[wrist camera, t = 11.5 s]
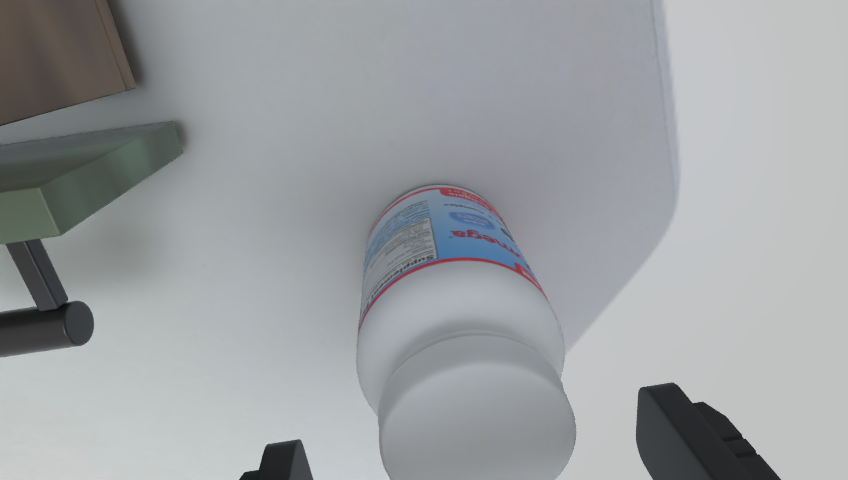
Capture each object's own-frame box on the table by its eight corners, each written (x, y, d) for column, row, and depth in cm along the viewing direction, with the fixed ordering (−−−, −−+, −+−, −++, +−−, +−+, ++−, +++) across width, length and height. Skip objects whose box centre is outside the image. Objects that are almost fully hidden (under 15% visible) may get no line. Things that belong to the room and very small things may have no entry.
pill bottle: (532, 252, 22) (658, 449, 12) (426, 331, 24) (459, 571, 13) (446, 149, 20) (511, 283, 10) (335, 242, 22) (291, 446, 11)
